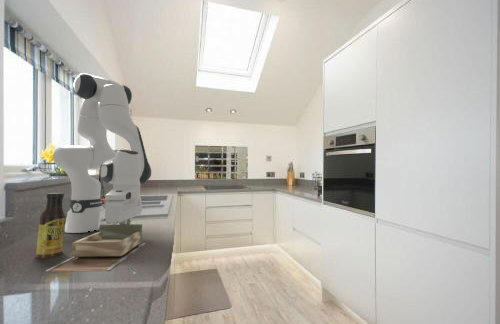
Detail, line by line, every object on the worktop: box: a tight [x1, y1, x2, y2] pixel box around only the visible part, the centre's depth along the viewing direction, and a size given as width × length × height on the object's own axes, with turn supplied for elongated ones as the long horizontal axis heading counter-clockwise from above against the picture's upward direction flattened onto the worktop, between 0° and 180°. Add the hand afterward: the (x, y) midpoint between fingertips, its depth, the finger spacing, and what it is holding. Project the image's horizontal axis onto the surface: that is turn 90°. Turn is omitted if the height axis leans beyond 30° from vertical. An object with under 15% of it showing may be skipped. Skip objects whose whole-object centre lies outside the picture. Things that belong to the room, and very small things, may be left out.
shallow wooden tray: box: [71, 223, 143, 258], centre depth 72 cm, size 14×14×7 cm
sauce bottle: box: [35, 192, 67, 259], centre depth 70 cm, size 7×6×20 cm
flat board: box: [44, 242, 146, 273], centre depth 69 cm, size 23×16×1 cm
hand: (125, 231), depth 82 cm, fingers closed
